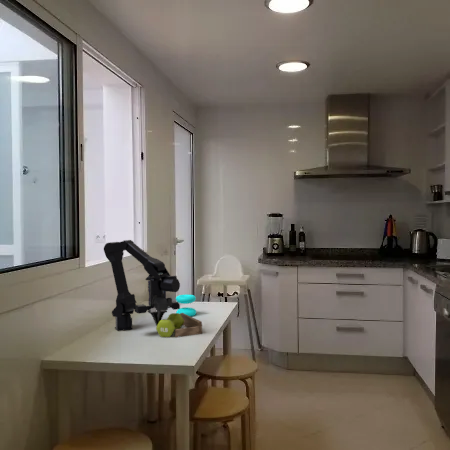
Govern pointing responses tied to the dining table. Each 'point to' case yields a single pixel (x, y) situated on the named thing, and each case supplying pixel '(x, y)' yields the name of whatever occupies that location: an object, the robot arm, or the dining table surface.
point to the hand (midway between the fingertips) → (157, 327)
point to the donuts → (185, 300)
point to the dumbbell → (169, 325)
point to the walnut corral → (189, 326)
